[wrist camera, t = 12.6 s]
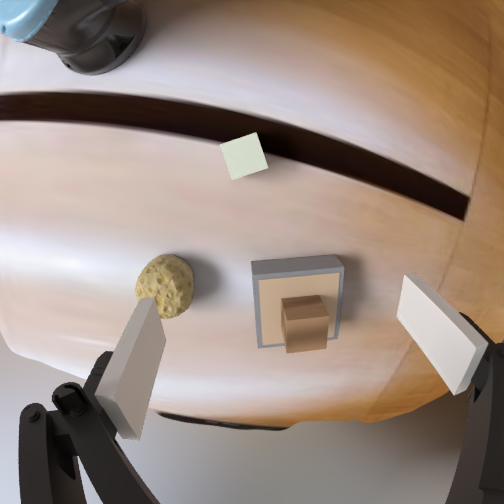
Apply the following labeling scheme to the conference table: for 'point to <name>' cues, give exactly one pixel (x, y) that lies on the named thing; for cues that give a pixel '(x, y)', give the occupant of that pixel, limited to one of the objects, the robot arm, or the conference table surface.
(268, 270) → the plinth
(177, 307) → the decorative item
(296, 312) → the walnut cube
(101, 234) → the conference table surface
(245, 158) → the sage cube
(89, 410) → the robot arm
